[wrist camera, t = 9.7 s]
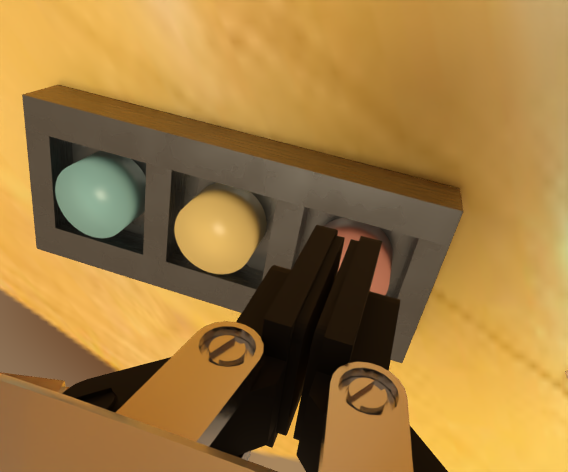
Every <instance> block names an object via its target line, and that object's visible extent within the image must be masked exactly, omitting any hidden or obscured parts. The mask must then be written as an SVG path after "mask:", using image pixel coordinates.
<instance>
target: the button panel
mask: <svg viewBox="0 0 568 472" xmlns="http://www.w3.org/2000/svg"><path fill="white" fill-rule="evenodd" d="M22 97H23V107H24V118H25V128H26V139H27V150H28V160H29V171H30V182H31V192H32V203H33V214H34V224H35V235H36V246H37V249H40V250H43V251H46V252H50V253H53V254H56V255H59V256H62V257H66V258H69V259H72V260H75V261H78V262H82V263H85V264H88V265H91V266H94V267H97V268H101V269H104V270H107V271H110V272H113V273H117V274H120V275H123V276H126V277H129V278H132V279H136V280H139V281H142V282H145V283H148V284H152V285H155V286H158V287H161V288H164V289H167V290H171V291H174V292H177V293H180V294H183V295H187V296H190V297H193V298H196V299H199V300H202V301H206V302H209V303H212V304H215V305H218V306H222V307H225V308H228V309H231V310H234V311H237V312H241V313H242V312H243V310H244V309H245V307H246V306H247V304H248V303H249V301H250V299H251V298H252V296H253V295H254V293H255V291H256V290H257V288H258V287H259V285H260V283H261V282H262V280H263V279H264V277H265V276H266V274H267V272H268V271H269V269H270V268H271V267H272V266H273V265H276V266H280V267H283V268H287V269H292V268H293V266H294V264H295V262H296V260H297V259H298V257H299V255H300V253H301V251H302V250H303V248H304V246H305V244H306V242H307V241H308V239H309V237H310V235H311V233H312V232H313V230H314V228H315V226H316V225H320V226H325V225H326V224H327V223H329V222H331V221H333V220H335V219H339V218H347V219H351V220H354V221H358V222H361V223H365V224H369V225H372V226H376V227H379V228H380V229H381V230H382V231H383V232H384V233H385V235H386V236H387V237H388V239H389V241H390V244H391V246H392V251H393V259H392V267H391V274H390V282H389V287H388V291H387V293H386V295H385V296H389V297H393V298H396V299H400V307H399V313H398V319H397V325H396V330H395V336H394V342H393V348H392V354H391V360H393V361H397V362H400V363H403V360H404V358H405V355H406V353H407V350H408V348H409V345H410V343H411V340H412V338H413V335H414V333H415V330H416V328H417V325H418V323H419V320H420V318H421V315H422V313H423V310H424V308H425V305H426V303H427V300H428V298H429V295H430V293H431V290H432V288H433V285H434V283H435V280H436V278H437V275H438V273H439V270H440V268H441V266H442V263H443V261H444V258H445V256H446V253H447V251H448V248H449V246H450V243H451V241H452V238H453V236H454V233H455V231H456V228H457V226H458V223H459V221H460V218H461V216H462V213H463V206H462V200H461V193H460V189H459V188H455V187H452V186H448V185H444V184H440V183H436V182H432V181H428V180H425V179H421V178H417V177H413V176H409V175H405V174H401V173H397V172H394V171H390V170H386V169H382V168H378V167H374V166H370V165H367V164H363V163H359V162H355V161H351V160H347V159H343V158H339V157H336V156H332V155H328V154H324V153H320V152H316V151H312V150H308V149H305V148H301V147H297V146H293V145H289V144H285V143H281V142H278V141H274V140H270V139H266V138H262V137H258V136H254V135H250V134H247V133H243V132H239V131H235V130H231V129H227V128H223V127H219V126H216V125H212V124H208V123H204V122H200V121H196V120H192V119H189V118H185V117H181V116H177V115H173V114H169V113H165V112H161V111H158V110H154V109H150V108H146V107H142V106H138V105H134V104H131V103H127V102H123V101H119V100H115V99H111V98H107V97H103V96H100V95H96V94H92V93H88V92H84V91H80V90H76V89H72V88H69V87H65V86H61V85H56V86H52V87H48V88H45V89H41V90H37V91H34V92H30V93H26V94H23V95H22ZM98 151H104V152H108V153H112V154H115V155H119V156H122V157H126V158H130V159H132V160H133V161H134V162H135V163H136V164H137V165H138V166H139V167H140V168H141V170H142V171H143V173H144V175H145V176H146V187H145V211H144V212H143V213H142V214H141V215H140V216H139V217H138V218H136V219H135V220H134V221H133V222H131V223H130V224H129V225H128V226H126V227H125V228H124V229H123V230H121V231H120V232H119V233H118V234H116V235H114V236H112V237H109V238H96V237H92V236H89V235H86V234H84V233H83V232H81V231H79V230H78V229H77V228H75V227H74V226H73V225H72V224H71V223H70V222H69V221H68V220H67V219H66V217H65V216H64V215H63V213H62V211H61V209H60V207H59V205H58V202H57V199H56V193H55V186H56V181H57V178H58V176H59V174H60V173H61V171H63V170H64V169H65V168H66V167H68V166H70V165H72V164H74V163H76V162H78V161H80V160H82V159H84V158H86V157H88V156H90V155H92V154H94V153H96V152H98ZM215 183H220V184H224V185H227V186H231V187H235V188H238V189H242V190H246V191H249V192H251V193H252V194H253V195H254V196H255V197H256V198H257V199H258V201H259V202H260V204H261V205H262V207H263V209H264V212H265V215H266V223H267V225H266V231H265V235H264V237H263V239H262V240H261V242H260V243H259V245H258V246H257V248H256V249H255V251H254V253H253V254H252V256H251V257H250V259H249V260H248V262H247V263H246V264H245V265H244V266H243V267H242V268H241V269H239V270H237V271H235V272H233V273H229V274H214V273H210V272H207V271H204V270H202V269H200V268H198V267H197V266H195V265H194V264H192V263H191V262H190V261H189V260H188V259H187V258H186V257H185V256H184V255H183V253H182V252H181V250H180V248H179V246H178V244H177V241H176V238H175V232H174V227H175V221H176V218H177V216H178V214H179V212H180V211H181V210H182V209H183V208H184V207H185V206H186V205H187V204H188V203H189V202H190V201H191V200H192V199H193V198H194V197H196V196H197V195H198V194H199V193H200V192H201V191H202V190H203V189H205V188H206V187H208V186H209V185H212V184H215Z"/></svg>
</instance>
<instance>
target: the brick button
mask: <svg viewBox="0 0 568 472" xmlns="http://www.w3.org/2000/svg"><path fill="white" fill-rule="evenodd" d="M324 227H328V228H332V229H336V230H338V235H337V236H341V237H345V239H344V245H343V250H342V254H341V259H340V264H339V268H340V266H341V263H342V261H343V258H344V256H345V253H346V251H347V248H348V245H349V243H350V240H351V239H353V240H357V241H359V239H360V237H361V236H364V237H368V238H372V239H376V240H380V241H382V245H381V249H380V253H379V257H378V261H377V265H376V268H375V272H374V276H373V280H372V284H371V288H370V291H371V292H374V293H378V294H382V295H386V293H387V291H388V287H389V282H390V274H391V267H392V259H393V251H392V246H391V244H390V241H389V239H388V237H387V236H386V235H385V233H384V232H383V231H382V230H381V229H380V228H379V227H376V226H372V225H369V224H365V223H361V222H358V221H354V220H351V219H347V218H339V219H335V220H333V221H331V222H329V223H327V224H326V225H325V226H324ZM338 271H339V269H338Z"/></svg>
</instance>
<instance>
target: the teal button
mask: <svg viewBox="0 0 568 472" xmlns="http://www.w3.org/2000/svg"><path fill="white" fill-rule="evenodd" d="M145 187H146V176H145V175H144V173H143V171H142V170H141V168H140V167H139V166H138V165H137V164H136V163H135V162H134V161H133V160H132V159H130V158H126V157H122V156H119V155H115V154H112V153H108V152H104V151H98V152H96V153H94V154H92V155H90V156H88V157H86V158H84V159H82V160H80V161H78V162H76V163H74V164H72V165H70V166H68V167H66V168H65V169H64V170H63V171H61V173H60V174H59V176H58V178H57V181H56V186H55V193H56V199H57V202H58V205H59V207H60V209H61V211H62V213H63V215H64V216H65V217H66V219H67V220H68V221H69V222H70V223H71V224H72V225H73V226H74V227H75V228H77V229H78V230H79V231H81V232H83V233H84V234H86V235H89V236H92V237H96V238H109V237H112V236H114V235H116V234H118V233H119V232H120V231H121V230H123V229H124V228H125V227H126V226H128V225H129V224H130V223H131V222H133V221H134V220H135V219H136V218H138V217H139V216H140V215H141V214H142V213H143V212H144V211H145Z"/></svg>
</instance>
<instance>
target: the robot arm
mask: <svg viewBox="0 0 568 472" xmlns="http://www.w3.org/2000/svg"><path fill="white" fill-rule="evenodd" d="M337 235H338V230H336V229H332V228H328V227H324V226H320V225H316V226H315V228H314V230H313V232H312V233H311V235H310V237H309V239H308V241H307V242H306V244H305V246H304V248H303V250H302V251H301V253H300V255H299V257H298V259H297V260H296V262H295V264H294V266H293V268H292V269H287V268H283V267H280V266H276V265H273V266H272V267H271V268H270V269H269V271H268V272H267V274H266V276H265V277H264V279H263V280H262V282H261V283H260V285H259V287H258V288H257V290H256V291H255V293H254V295H253V296H252V298H251V299H250V301H249V303H248V304H247V306H246V307H245V309H244V310H243V312H242V314H241V315H240V317H239V318H238V320H237V322H228V321H223V322H216V323H212V324H210V325H207V326H205V327H203V328H202V329H200V330H199V331H198V332H197V333H196V334H194V335H193V336H192V337H191V338H190V339H189V340H188V341H187V342H186V343H185V344H184V345H183V346H182V347H181V348H180V349H179V350H178V351H177V352H176V353H175V354H174V355H173V356H172V357H170V358H166V359H162V360H159V361H155V362H151V363H147V364H143V365H140V366H136V367H132V368H128V369H124V370H121V371H117V372H113V373H109V374H105V375H102V376H98V377H94V378H91V379H87V380H84V381H82V382H79V383H77V384H75V385H73V386H72V387H65V381H63V380H55V379H47V378H39V377H32V376H24V375H16V374H8V373H0V472H277V471H274V470H272V469H269V468H266V467H263V466H261V465H258V464H255V463H253V462H250V461H248V459H249V457H250V453H251V450H254V449H257V448H259V447H262V446H265V445H266V446H269V447H273V445H274V442H275V439H276V437H277V434H278V433H280V434H282V435H285V436H286V435H287V433H288V430H289V428H290V425H291V422H292V420H293V417H294V414H295V411H296V409H297V406H298V403H299V401H300V398H301V401H300V406H299V411H298V416H297V421H296V426H295V432H294V437H293V438H294V439H297V440H299V445H298V450H297V457H298V458H299V460H300V462H301V464H302V465H303V467H304V469H305V470H306V472H448V471H447V470H446V469H445V467H444V466H443V465H442V464H441V463H440V461H439V460H438V459H437V458H436V457H435V455H434V454H433V453H432V452H431V451H430V449H429V448H428V447H427V446H426V444H425V443H424V442H423V441H422V440H421V438H420V437H419V436H418V435H417V434H416V432H415V431H414V430H413V429H412V428H411V426H410V424H409V412H408V400H407V395H406V391H405V388H404V387H403V385H402V384H401V382H400V381H399V379H398V378H397V377H395V376H394V375H393V374H392V373H391V372H390V371H389V365H390V360H391V354H392V348H393V342H394V336H395V330H396V325H397V319H398V313H399V307H400V299H396V298H393V297H389V296H385V295H382V294H378V293H374V292H371V291H370V288H371V284H372V280H373V276H374V272H375V268H376V265H377V261H378V257H379V253H380V249H381V245H382V241H380V240H376V239H372V238H368V237H364V236H361V237H360V239H359V241H357V240H353V239H351V240H350V243H349V245H348V248H347V251H346V253H345V256H344V258H343V261H342V263H341V266H340V268H339V264H340V259H341V254H342V250H343V245H344V239H345V237H341V236H337ZM338 269H339V271H338Z"/></svg>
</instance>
